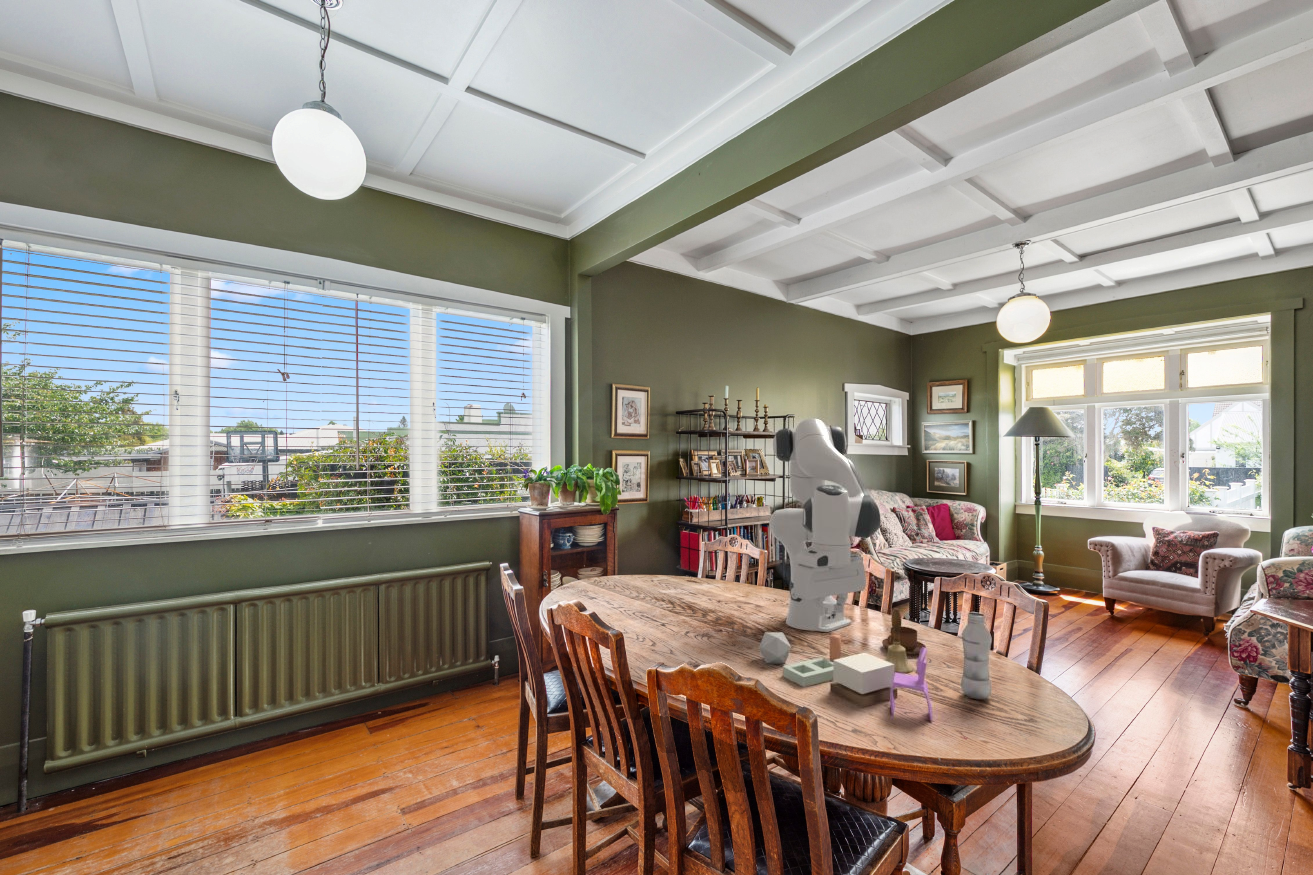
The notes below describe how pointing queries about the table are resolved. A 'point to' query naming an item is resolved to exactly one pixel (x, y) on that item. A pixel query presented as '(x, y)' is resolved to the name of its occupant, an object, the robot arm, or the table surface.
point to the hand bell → (897, 647)
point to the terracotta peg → (835, 647)
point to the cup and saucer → (906, 640)
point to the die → (774, 647)
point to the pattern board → (860, 698)
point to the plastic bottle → (976, 658)
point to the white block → (863, 672)
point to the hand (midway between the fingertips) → (830, 613)
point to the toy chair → (913, 682)
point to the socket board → (809, 672)
